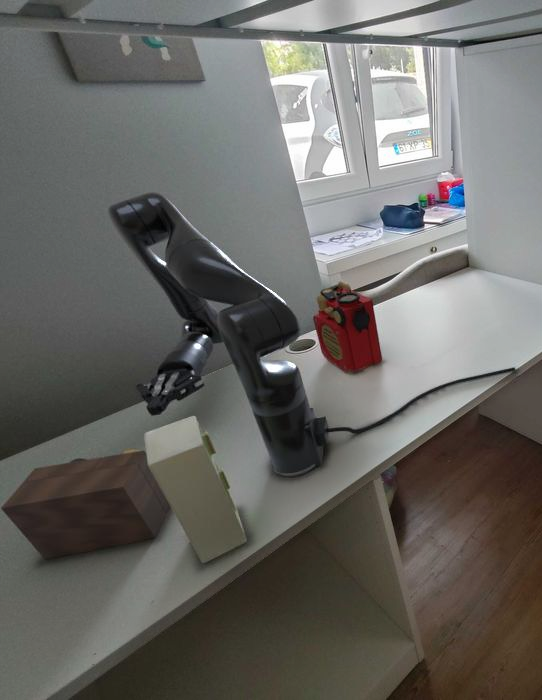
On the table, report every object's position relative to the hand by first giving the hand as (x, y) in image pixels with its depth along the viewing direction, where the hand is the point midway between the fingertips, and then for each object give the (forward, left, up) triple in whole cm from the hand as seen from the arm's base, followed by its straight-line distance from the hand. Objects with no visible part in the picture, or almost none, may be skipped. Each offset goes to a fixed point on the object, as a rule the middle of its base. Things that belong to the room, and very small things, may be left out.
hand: (153, 411), depth 84 cm
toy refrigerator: (-15, +23, -11) cm, 30 cm away
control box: (+4, +16, -11) cm, 19 cm away
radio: (-35, -27, -11) cm, 45 cm away
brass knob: (0, +12, -4) cm, 13 cm away
